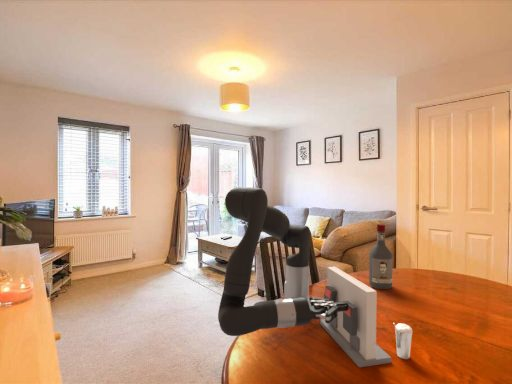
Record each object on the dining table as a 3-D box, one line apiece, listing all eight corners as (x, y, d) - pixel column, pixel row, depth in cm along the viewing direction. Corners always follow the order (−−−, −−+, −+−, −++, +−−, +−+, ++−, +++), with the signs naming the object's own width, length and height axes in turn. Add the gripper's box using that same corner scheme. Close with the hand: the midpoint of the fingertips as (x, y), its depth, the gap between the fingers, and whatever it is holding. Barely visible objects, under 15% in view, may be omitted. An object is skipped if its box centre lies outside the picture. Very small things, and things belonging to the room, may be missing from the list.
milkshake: (388, 352, 86) (389, 319, 86) (405, 351, 87) (406, 318, 86) (397, 361, 82) (398, 326, 81) (415, 360, 82) (416, 325, 82)
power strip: (359, 367, 79) (359, 293, 78) (319, 323, 103) (320, 267, 103) (391, 362, 81) (392, 290, 80) (345, 320, 106) (345, 265, 105)
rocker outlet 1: (328, 314, 95) (332, 290, 95) (321, 308, 100) (325, 285, 100) (332, 315, 95) (337, 291, 95) (326, 308, 100) (329, 286, 100)
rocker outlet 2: (351, 336, 82) (351, 308, 82) (342, 327, 87) (342, 301, 87) (356, 335, 82) (357, 307, 82) (347, 326, 87) (347, 300, 87)
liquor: (368, 282, 146) (368, 223, 145) (387, 283, 145) (388, 223, 144) (373, 288, 137) (373, 226, 136) (393, 289, 136) (394, 226, 135)
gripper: (298, 308, 74) (359, 302, 78) (283, 290, 87) (336, 285, 91) (298, 337, 74) (359, 329, 78) (283, 314, 87) (336, 308, 91)
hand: (346, 305), depth 84 cm, fingers closed
